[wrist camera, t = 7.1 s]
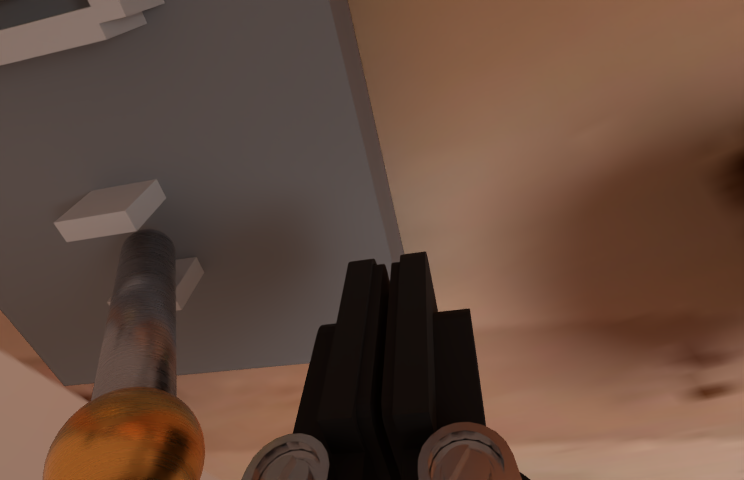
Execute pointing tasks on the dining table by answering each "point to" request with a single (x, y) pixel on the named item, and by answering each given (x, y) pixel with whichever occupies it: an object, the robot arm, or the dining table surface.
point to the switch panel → (186, 172)
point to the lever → (134, 383)
